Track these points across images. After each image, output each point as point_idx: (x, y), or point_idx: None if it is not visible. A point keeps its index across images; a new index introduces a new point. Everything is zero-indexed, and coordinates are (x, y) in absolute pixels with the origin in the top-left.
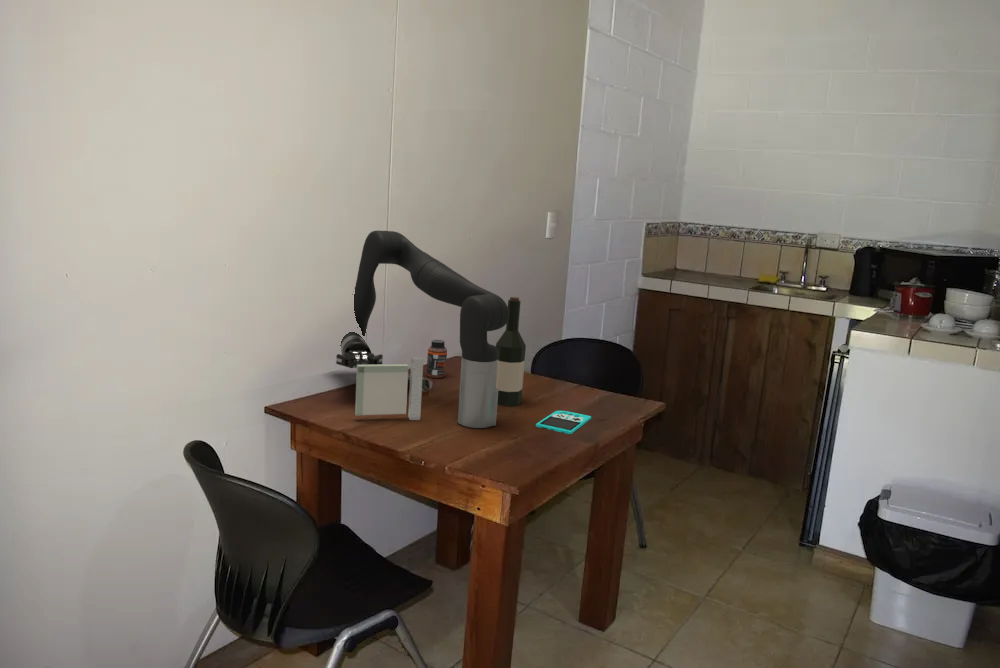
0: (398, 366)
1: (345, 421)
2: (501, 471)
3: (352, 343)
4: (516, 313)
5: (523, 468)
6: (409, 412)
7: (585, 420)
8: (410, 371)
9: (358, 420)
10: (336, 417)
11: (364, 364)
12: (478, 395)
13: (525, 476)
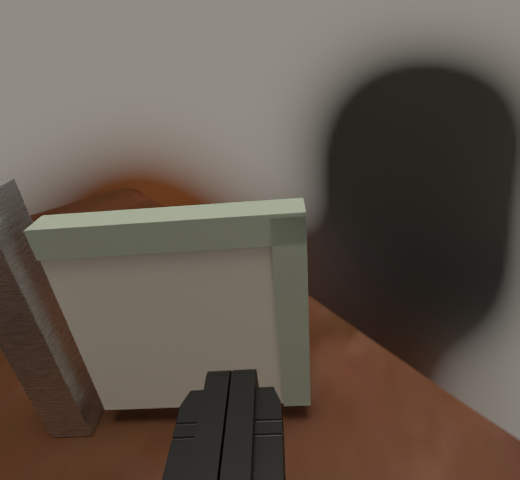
0: (93, 214)
1: (347, 400)
2: (113, 203)
3: None
4: None
5: (76, 209)
6: (92, 401)
7: None
8: (14, 275)
9: (297, 408)
10: (392, 450)
11: (228, 371)
12: None
13: (95, 197)
